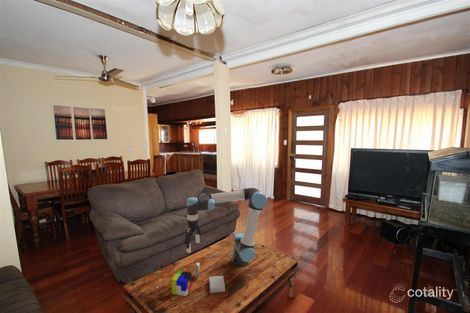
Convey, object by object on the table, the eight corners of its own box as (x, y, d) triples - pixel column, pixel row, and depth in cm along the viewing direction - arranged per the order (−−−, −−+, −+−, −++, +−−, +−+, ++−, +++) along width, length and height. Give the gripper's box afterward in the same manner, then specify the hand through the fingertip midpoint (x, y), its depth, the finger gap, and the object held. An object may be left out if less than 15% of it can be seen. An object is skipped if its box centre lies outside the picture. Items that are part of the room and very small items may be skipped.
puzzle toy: (185, 296, 139) (185, 282, 138) (171, 293, 141) (171, 279, 140) (191, 285, 149) (191, 272, 148) (178, 283, 151) (178, 270, 150)
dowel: (199, 274, 161) (199, 262, 160) (199, 277, 157) (199, 265, 156) (194, 275, 160) (194, 262, 159) (194, 278, 157) (194, 265, 156)
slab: (223, 280, 156) (223, 275, 156) (224, 291, 144) (225, 287, 144) (209, 281, 154) (209, 276, 154) (210, 293, 142) (210, 288, 142)
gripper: (195, 212, 164) (196, 238, 167) (178, 225, 141) (179, 255, 143) (204, 213, 162) (205, 239, 165) (188, 227, 138) (189, 257, 141)
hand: (193, 247), depth 154 cm, fingers open, 13 cm apart
